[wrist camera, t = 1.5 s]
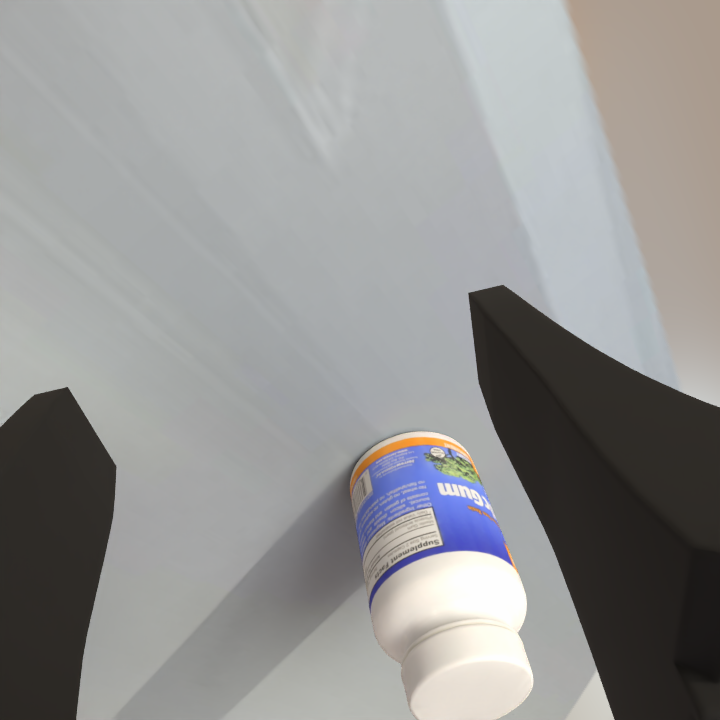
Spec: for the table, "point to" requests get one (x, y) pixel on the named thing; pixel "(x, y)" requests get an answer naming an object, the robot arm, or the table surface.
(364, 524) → the pill bottle
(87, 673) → the table surface
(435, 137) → the table surface
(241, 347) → the table surface
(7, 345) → the table surface
